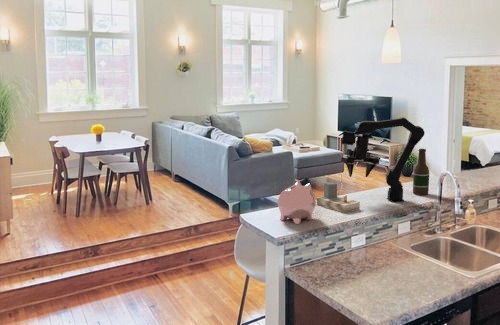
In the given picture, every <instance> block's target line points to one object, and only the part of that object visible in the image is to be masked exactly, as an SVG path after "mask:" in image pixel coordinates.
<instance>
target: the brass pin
mask: <svg viewBox="0 0 500 325" xmlns="http://www.w3.org/2000/svg"><path fill="white" fill-rule="evenodd" d="M343 198H344V200H343V202H347V199H348V195H346V194H345V195H343Z"/></svg>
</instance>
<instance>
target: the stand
mask: <svg viewBox="0 0 500 325" xmlns="http://www.w3.org/2000/svg"><path fill="white" fill-rule="evenodd" d="M343 200H344V196H343V197H342V196H340V195H337V198H332V199H328V198H326V197H324V195H322V196H317V197H316V205H318V206H321V207H324V208H327V209H329V210H330V209H331V210H332V211H333V210H334V211H336V210H337V212H340V213H343V214H345V213H349V212H355V211H358V209H359V210H360V209H361V208H360V207H361V206H360V204H361V203H360V201H357V200H353V199H349V198H347V202H343Z"/></svg>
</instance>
